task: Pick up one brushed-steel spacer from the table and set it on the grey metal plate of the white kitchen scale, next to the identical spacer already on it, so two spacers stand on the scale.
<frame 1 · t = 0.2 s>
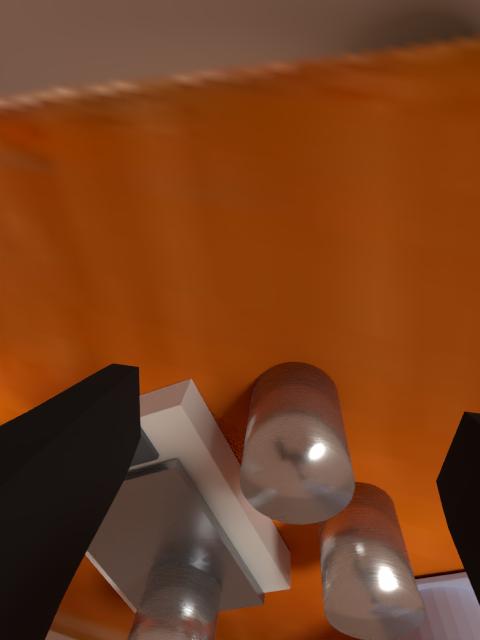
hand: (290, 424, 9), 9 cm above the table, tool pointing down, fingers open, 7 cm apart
scale: (164, 494, 24), on the table
spacer 3: (355, 509, 23), on the table
grey metal plate: (160, 549, 22), point 3 cm above the table, slide at -0.3 cm, touching spacer 1
spacer 2: (294, 399, 20), on the table
spacer 1: (183, 588, 23), point 3 cm above the table, touching grey metal plate
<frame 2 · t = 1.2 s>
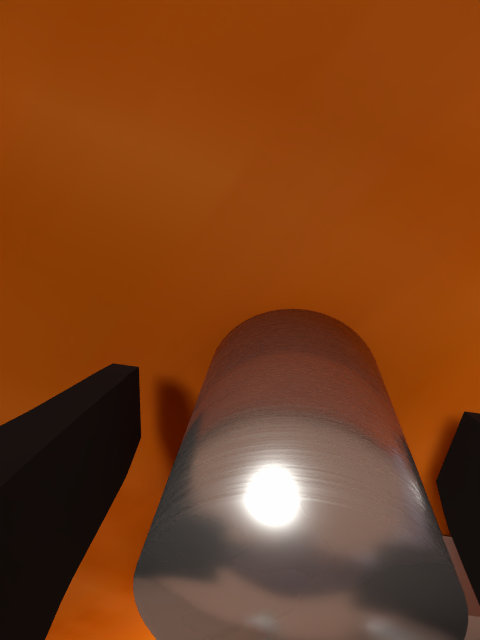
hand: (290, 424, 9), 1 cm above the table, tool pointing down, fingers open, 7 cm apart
scale: (363, 632, 14), on the table
spacer 2: (291, 386, 10), on the table
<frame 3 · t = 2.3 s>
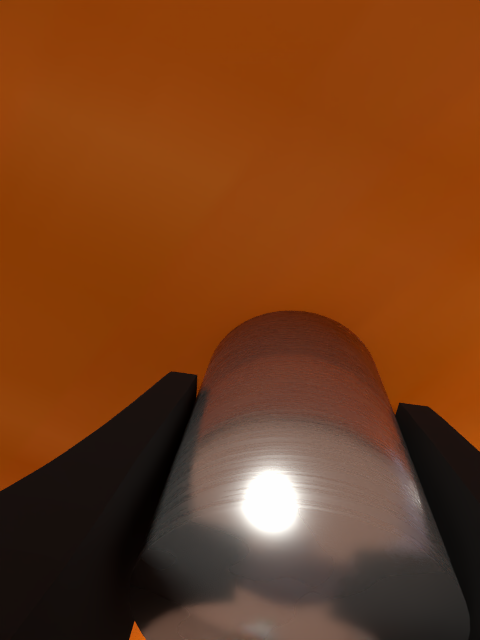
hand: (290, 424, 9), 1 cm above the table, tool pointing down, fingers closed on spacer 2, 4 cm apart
spacer 2: (290, 388, 10), on the table, touching gripper
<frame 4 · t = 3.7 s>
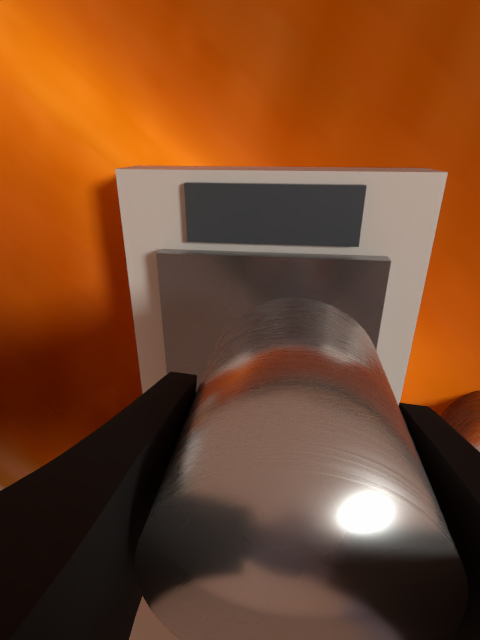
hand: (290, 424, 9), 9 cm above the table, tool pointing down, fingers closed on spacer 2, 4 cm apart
scale: (269, 331, 18), on the table
grey metal plate: (265, 387, 16), point 3 cm above the table, slide at -0.3 cm, touching spacer 1
spacer 2: (292, 376, 10), point 7 cm above the table, touching gripper
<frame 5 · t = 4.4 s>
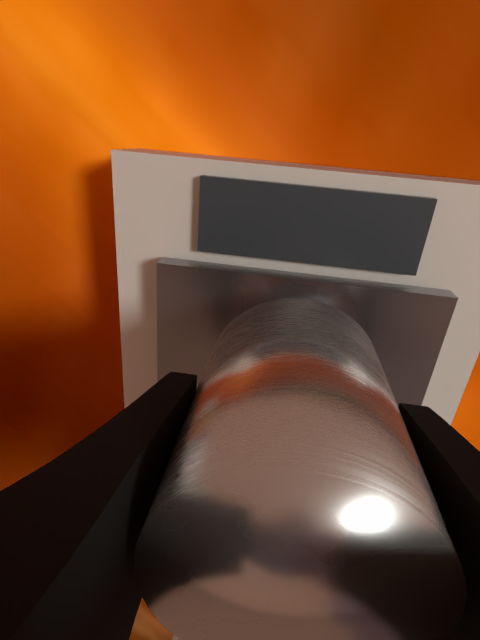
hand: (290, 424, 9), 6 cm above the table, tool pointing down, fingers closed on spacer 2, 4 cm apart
scale: (283, 360, 15), on the table
grey metal plate: (278, 433, 13), point 3 cm above the table, slide at -0.3 cm, touching spacer 1
spacer 2: (291, 376, 10), point 4 cm above the table, touching gripper
when the fingers open (6 cm above the table, at t = 5.2 s): spacer 2 drops 1 cm, resting on grey metal plate.
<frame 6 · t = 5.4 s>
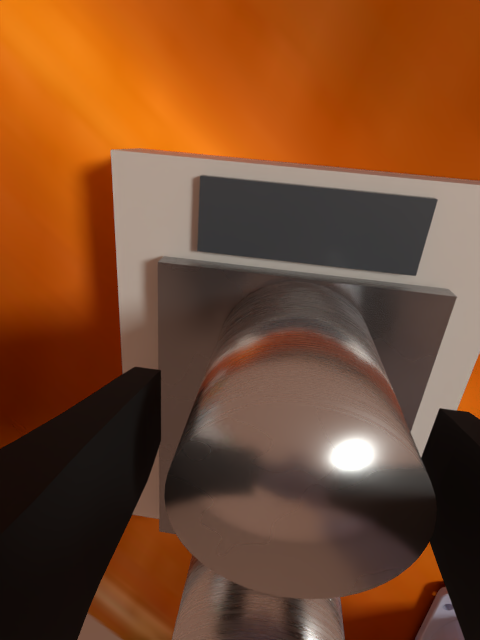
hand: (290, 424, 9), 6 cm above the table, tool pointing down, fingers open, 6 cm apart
scale: (283, 360, 15), on the table
grey metal plate: (278, 431, 13), point 3 cm above the table, slide at -0.4 cm, touching spacer 1, spacer 2
spacer 2: (293, 352, 11), point 3 cm above the table, touching grey metal plate
spacer 1: (267, 502, 14), point 3 cm above the table, touching grey metal plate
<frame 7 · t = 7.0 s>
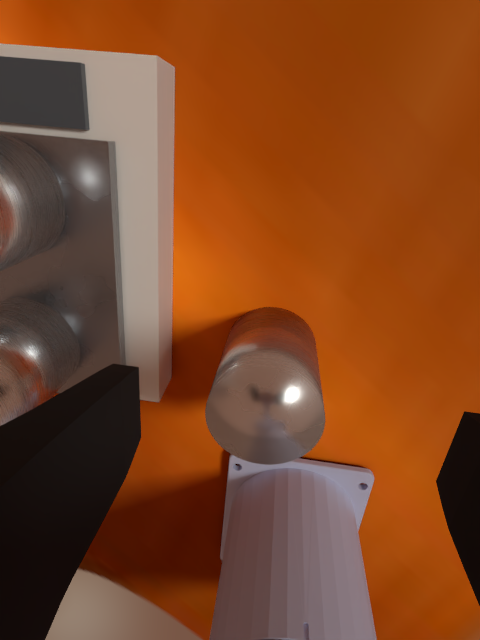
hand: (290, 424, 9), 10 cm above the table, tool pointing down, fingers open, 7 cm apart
scale: (57, 235, 18), on the table
spacer 3: (270, 348, 19), on the table
grey metal plate: (26, 277, 16), point 3 cm above the table, slide at -0.4 cm, touching spacer 1, spacer 2
spacer 2: (9, 198, 15), point 3 cm above the table, touching grey metal plate
spacer 1: (32, 343, 17), point 3 cm above the table, touching grey metal plate
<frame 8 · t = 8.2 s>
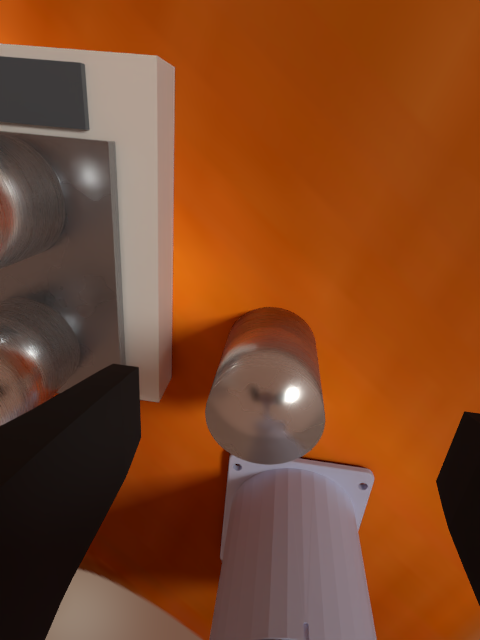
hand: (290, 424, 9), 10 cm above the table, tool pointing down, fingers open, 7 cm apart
scale: (57, 235, 18), on the table
spacer 3: (270, 348, 19), on the table
grey metal plate: (26, 277, 16), point 3 cm above the table, slide at -0.4 cm, touching spacer 1, spacer 2
spacer 2: (9, 198, 15), point 3 cm above the table, touching grey metal plate
spacer 1: (32, 343, 17), point 3 cm above the table, touching grey metal plate
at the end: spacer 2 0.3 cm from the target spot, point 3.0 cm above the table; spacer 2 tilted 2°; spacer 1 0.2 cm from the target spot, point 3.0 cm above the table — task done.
